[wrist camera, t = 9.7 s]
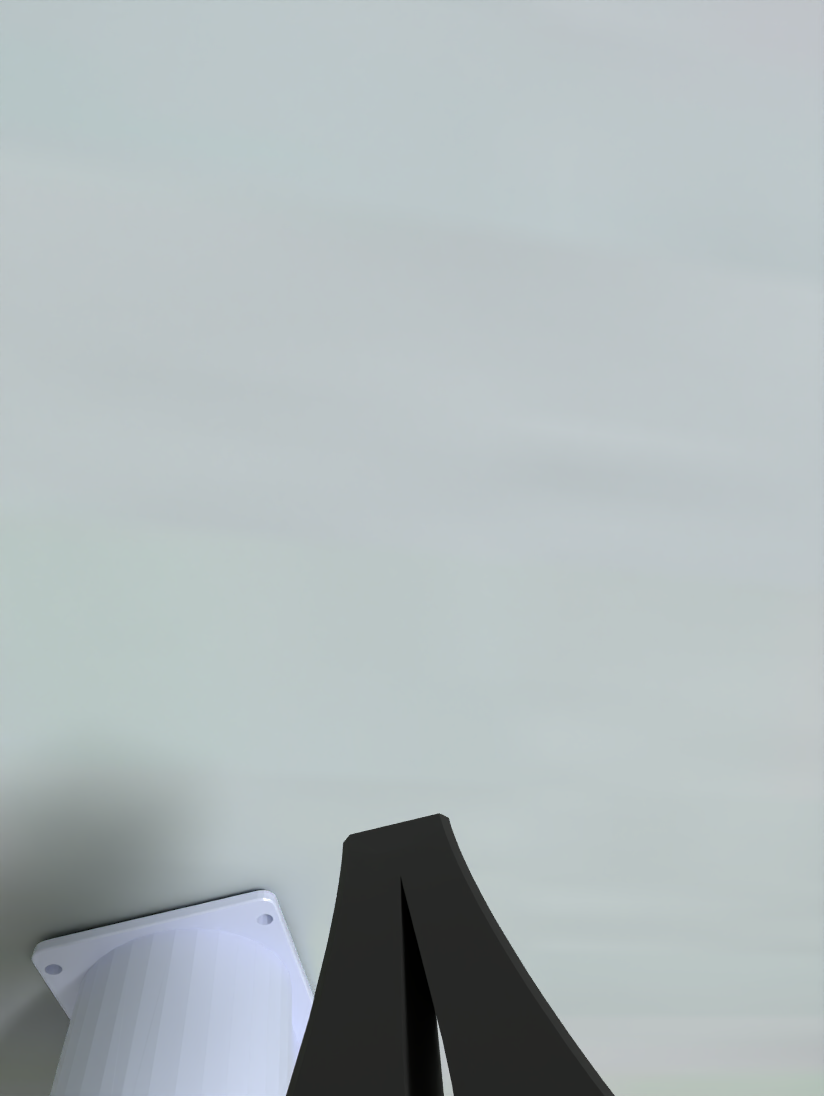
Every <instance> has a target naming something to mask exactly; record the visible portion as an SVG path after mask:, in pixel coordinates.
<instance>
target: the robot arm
mask: <svg viewBox="0 0 824 1096" xmlns="http://www.w3.org/2000/svg"><path fill="white" fill-rule="evenodd" d="M263 914H264V915H263ZM31 959H32V962H33V964H34V965H35V967H36V968H37V970H38V971H39V973H40V975H41V976H42V978H43V979H44V981H45V982H46V984H47V985H48V987H49V988H50V990H51V991H52V993H53V995H54V996H55V998H56V999H57V1001H58V1002H59V1004H60V1005H61V1007H62V1008H63V1010H64V1011H65V1013H66V1015H67V1016H68V1018H69V1019H70V1024H69V1028H68V1031H67V1035H66V1038H65V1042H64V1046H63V1049H62V1053H61V1056H60V1060H59V1064H58V1067H57V1071H56V1075H55V1078H54V1082H53V1085H52V1089H51V1093H50V1096H444V1093H443V1082H442V1071H441V1061H440V1050H439V1039H438V1029H437V1020H438V1024H439V1028H440V1032H441V1036H442V1040H443V1044H444V1049H445V1054H446V1058H447V1063H448V1068H449V1072H450V1077H451V1082H452V1087H453V1093H454V1096H614V1094H613V1093H612V1092H611V1090H610V1089H609V1088H608V1086H607V1085H606V1084H605V1083H604V1081H603V1080H602V1079H601V1077H600V1076H599V1075H598V1073H597V1072H596V1070H595V1069H594V1068H593V1066H592V1065H591V1064H590V1062H589V1061H588V1060H587V1058H586V1057H585V1055H584V1054H583V1053H582V1051H581V1050H580V1048H579V1047H578V1046H577V1044H576V1043H575V1042H574V1040H573V1039H572V1037H571V1036H570V1035H569V1033H568V1032H567V1030H566V1029H565V1027H564V1026H563V1024H562V1023H561V1021H560V1020H559V1019H558V1017H557V1016H556V1014H555V1013H554V1011H553V1010H552V1008H551V1007H550V1005H549V1004H548V1003H547V1001H546V1000H545V998H544V997H543V995H542V994H541V992H540V991H539V989H538V988H537V986H536V984H535V983H534V981H533V980H532V978H531V977H530V975H529V974H528V972H527V971H526V969H525V967H524V966H523V964H522V963H521V961H520V959H519V958H518V956H517V954H516V953H515V951H514V949H513V948H512V946H511V945H510V943H509V941H508V940H507V938H506V936H505V935H504V933H503V931H502V930H501V928H500V927H499V925H498V923H497V921H496V920H495V918H494V916H493V914H492V913H491V911H490V909H489V907H488V906H487V904H486V902H485V900H484V898H483V896H482V894H481V892H480V890H479V888H478V887H477V885H476V883H475V881H474V879H473V877H472V875H471V873H470V871H469V869H468V867H467V864H466V862H465V860H464V858H463V856H462V853H461V851H460V849H459V846H458V844H457V841H456V839H455V836H454V834H453V831H452V828H451V824H450V821H449V818H448V817H446V816H444V815H442V814H440V813H439V814H435V815H430V816H426V817H422V818H418V819H414V820H409V821H405V822H401V823H397V824H393V825H389V826H384V827H380V828H376V829H372V830H368V831H363V832H359V833H355V834H351V835H349V836H348V838H347V839H346V840H345V841H344V843H343V853H342V864H341V871H340V878H339V885H338V891H337V897H336V903H335V908H334V913H333V918H332V923H331V928H330V933H329V938H328V943H327V947H326V951H325V955H324V959H323V963H322V968H321V972H320V976H319V980H318V984H317V988H316V992H315V996H313V993H312V990H311V988H310V985H309V982H308V980H307V977H306V974H305V972H304V969H303V967H302V964H301V961H300V959H299V956H298V953H297V951H296V948H295V945H294V943H293V940H292V937H291V935H290V932H289V929H288V927H287V924H286V921H285V919H284V916H283V913H282V911H281V908H280V905H279V903H278V900H277V897H276V896H275V895H274V893H272V892H270V891H267V890H258V891H254V892H250V893H245V894H241V895H237V896H232V897H228V898H224V899H220V900H215V901H211V902H207V903H202V904H198V905H194V906H190V907H185V908H181V909H177V910H173V911H168V912H164V913H160V914H155V915H151V916H147V917H143V918H138V919H134V920H130V921H125V922H121V923H117V924H113V925H108V926H104V927H100V928H95V929H91V930H87V931H83V932H78V933H74V934H70V935H65V936H61V937H57V938H53V939H48V940H45V941H42V942H40V943H38V944H37V945H36V947H35V949H34V952H33V955H32V958H31ZM436 1016H437V1019H436Z"/></svg>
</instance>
